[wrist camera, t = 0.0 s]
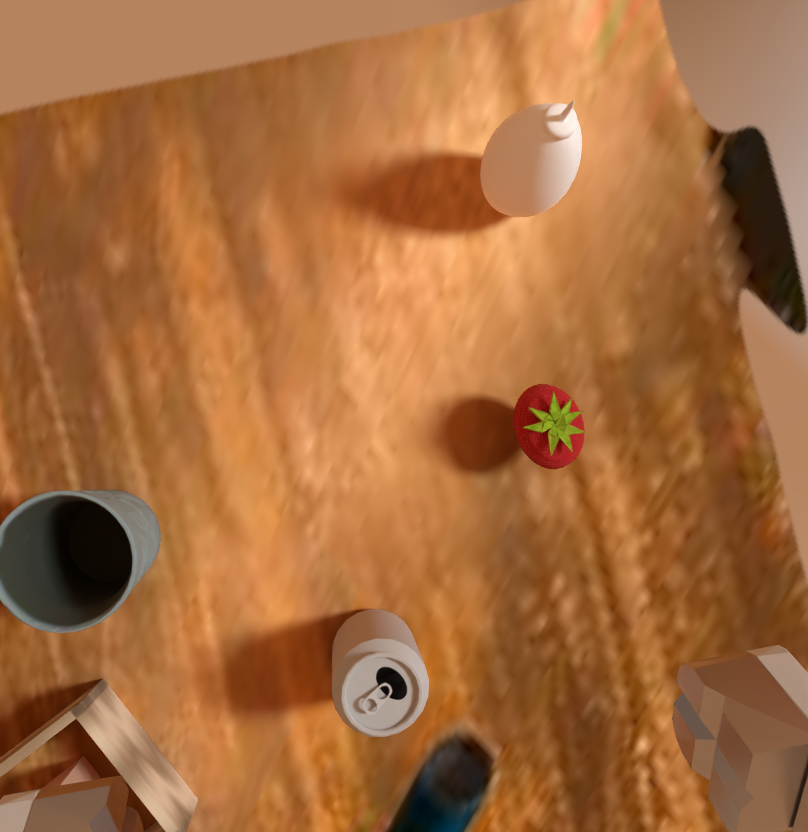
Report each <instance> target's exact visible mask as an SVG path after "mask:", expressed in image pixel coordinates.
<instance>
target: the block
mask: <svg viewBox="0 0 808 832" xmlns="http://www.w3.org/2000/svg"><path fill="white" fill-rule="evenodd" d="M96 779H101V777H100V776H99V774H98V773H97V772H96V771H95V769H94V768H93V767H92V766H91V764H90V763H89V762H88V761H87V759H86V758H85V757H84V756H82V757H81V758H80V759H79V760H77V761H76V762H75V763H73V764H72V765H71V766H70V767H68V768H67V769H66V770H64V771H63V772H62V773H61V774H59V775H58V776H57V777H55V778H54V779H53V780H52V781H50V782H49V783H48V784H46V785H45V786H44V787H43V788H48V787H54V786H60V785H66V784H72V783H78V782H84V781H90V780H96ZM41 789H42V788H41Z"/></svg>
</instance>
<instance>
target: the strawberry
mask: <svg viewBox="0 0 808 832" xmlns="http://www.w3.org/2000/svg"><path fill="white" fill-rule="evenodd" d="M581 412H583V411H579V409H578V407H577V405H576V404H575V402H574V401H573V400H572V399H571V397H570V396H569V395H567V394H566V393H565V392H564V391H562V390H560V389H558V388H556V387H554V386H551V385H548V384H538V385H534V386H532V387H530V388H528V389H527V390H526V391H524V392H523V394H522V395H521V396H520V398H519V399H518V402H517V404H516V407H515V411H514V430H515V434H516V437H517V440H518V442H519V444H520V446H521V448H522V450H523V451H524V453H525V454H526V455H527V456H528V457H529V458H530V459H531V460H532V461H533V462H535V463H536V464H538V465H540V466H541V467H544V468H548V469H558V468H562V467H564V466H566V465H568V464H570V463H571V462H572V461H573V460H575V459H576V457H577V456H578V454H579V453H580V451H581V449H582V446H583V442H584V433H585V432H584V423H583V419H582V416H581Z"/></svg>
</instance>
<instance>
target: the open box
mask: <svg viewBox="0 0 808 832" xmlns="http://www.w3.org/2000/svg"><path fill="white" fill-rule="evenodd" d="M75 719H77V720H78V721H79V722H80V724H81V725H82V726H83V728H84V729H85V730H86V731H87V733H88V734H89V735H90V736H91V738H92V739H93V740H94V741H95V743H96V744H97V745H98V747H99V748H100V749H101V750H102V752H103V753H104V754H105V755H106V757H107V758H108V759H109V760H110V762H111V763H112V764H113V766H114V767H115V768H116V769H117V771H118V772H119V773H120V774H121V775H122V776H123V778H124V779H125V781H126V782H127V783H128V784H129V786H130V787H131V788H132V790H133V791H134V792H135V793H136V795H137V796H138V797H139V798H140V800H141V801H142V802H143V803H144V805H145V806H146V807H147V809H148V810H149V811H150V812H151V814H152V815H153V816H154V817H155V819H156V820H157V821H156V822H155V823H154V824H152V825H151V826H150V827H149V828H147V829H146V830H145V831H144V832H186V831H187V828H188V826H189V823H190V820H191V818H192V815H193V812H194V810H195V807H196V804H197V802H198V798H197V797H196V796H195V794H194V793H193V792H192V791H191V789H190V788H189V787H188V786H187V784H186V783H185V782H184V780H183V779H182V778H181V777H180V775H179V774H178V773H177V772H176V770H175V769H174V768H173V767H172V765H171V764H170V763H169V761H168V760H167V759H166V758H165V756H164V755H163V754H162V753H161V751H160V750H159V749H158V747H157V746H156V745H155V744H154V742H153V741H152V740H151V739H150V737H149V736H148V735H147V733H146V732H145V731H144V730H143V728H142V727H141V726H140V725H139V723H138V722H137V721H136V719H135V718H134V717H133V716H132V714H131V713H130V712H129V711H128V709H127V708H126V707H125V706H124V704H123V703H122V702H121V700H120V699H119V698H118V697H117V695H116V694H115V693H114V692H113V690H112V689H111V688H110V686H109V685H108V684H107V683H106V681H105V680H104V679H102V680H101V681H99V682H98V683H97V684H95V685H94V686H93V687H91V688H90V689H89V690H88V691H86V692H85V693H84V694H82V695H81V696H80V697H78V698H77V699H76V700H74V701H73V702H72V703H71V704H69V705H68V706H67V707H65V708H64V709H63V710H61V711H60V712H59V713H58V714H56V715H55V716H54V717H52V718H51V719H50V720H48V721H47V722H46V723H45V724H43V725H42V726H41V727H39V728H38V729H37V730H35V731H34V732H33V733H31V734H30V735H29V736H28V737H26V738H25V739H24V740H22V741H21V742H20V743H18V744H17V745H16V746H15V747H13V748H12V749H11V750H9V751H8V752H7V753H5V754H4V755H3V756H2V757H0V777H1V776H2V775H4V774H5V773H6V772H8V771H9V770H10V769H11V768H13V767H14V766H15V765H17V764H18V763H19V762H21V761H22V760H23V759H24V758H26V757H27V756H28V755H30V754H31V753H32V752H34V751H35V750H36V749H37V748H39V747H40V746H41V745H43V744H44V743H45V742H46V741H48V740H49V739H50V738H52V737H53V736H54V735H56V734H57V733H58V732H59V731H61V730H62V729H63V728H65V727H66V726H67V725H69V724H70V723H71V722H72V721H74V720H75Z"/></svg>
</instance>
